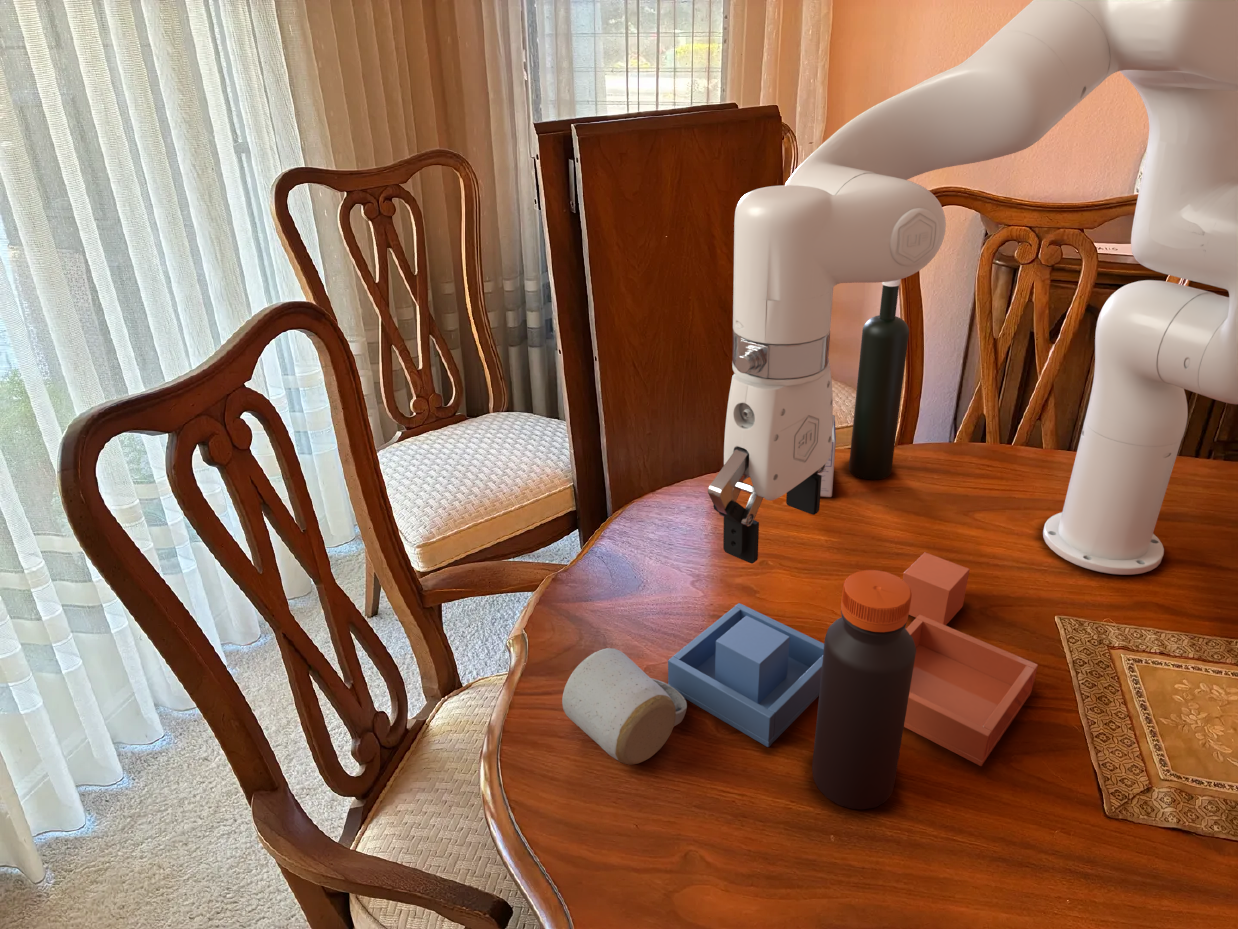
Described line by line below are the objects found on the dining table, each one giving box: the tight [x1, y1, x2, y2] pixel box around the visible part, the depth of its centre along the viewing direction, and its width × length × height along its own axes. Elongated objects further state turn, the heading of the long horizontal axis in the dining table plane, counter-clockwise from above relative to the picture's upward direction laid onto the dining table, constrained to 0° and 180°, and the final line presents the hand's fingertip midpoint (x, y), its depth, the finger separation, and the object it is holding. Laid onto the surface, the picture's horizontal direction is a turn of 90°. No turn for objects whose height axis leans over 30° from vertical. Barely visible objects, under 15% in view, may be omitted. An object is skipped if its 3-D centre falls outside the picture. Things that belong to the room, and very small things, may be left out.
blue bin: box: [667, 602, 824, 748], centre depth 83 cm, size 12×12×4 cm
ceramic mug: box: [561, 647, 688, 766], centre depth 77 cm, size 11×8×8 cm
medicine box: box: [818, 420, 837, 498], centre depth 115 cm, size 8×4×9 cm, turn 168°
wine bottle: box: [848, 279, 910, 481], centre depth 113 cm, size 6×6×30 cm
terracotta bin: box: [904, 615, 1039, 767], centre depth 80 cm, size 12×12×4 cm
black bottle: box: [811, 569, 916, 810], centre depth 68 cm, size 7×7×20 cm
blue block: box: [715, 616, 790, 704], centre depth 82 cm, size 5×5×5 cm
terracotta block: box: [902, 551, 970, 626], centre depth 91 cm, size 5×5×5 cm
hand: (772, 531), depth 76 cm, fingers open, 9 cm apart
